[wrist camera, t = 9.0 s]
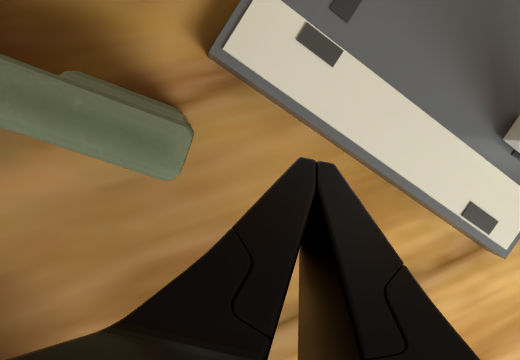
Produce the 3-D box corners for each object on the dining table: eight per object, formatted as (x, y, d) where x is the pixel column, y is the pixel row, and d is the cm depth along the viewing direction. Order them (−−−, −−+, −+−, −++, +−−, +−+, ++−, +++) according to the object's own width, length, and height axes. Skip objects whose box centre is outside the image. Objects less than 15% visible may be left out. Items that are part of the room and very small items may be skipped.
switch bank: (486, 250, 24) (508, 260, 22) (208, 57, 19) (208, 51, 18) (607, 80, 23) (639, 77, 22) (347, -169, 18) (362, -198, 17)
